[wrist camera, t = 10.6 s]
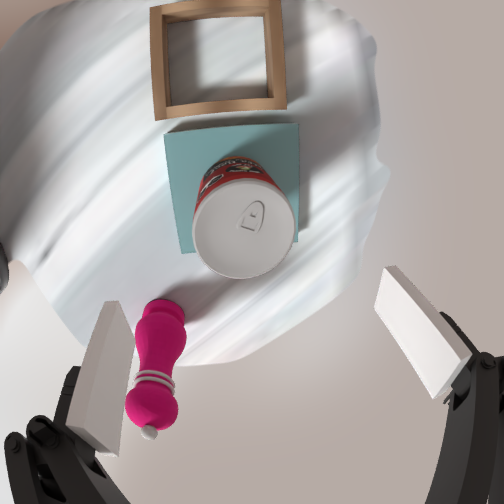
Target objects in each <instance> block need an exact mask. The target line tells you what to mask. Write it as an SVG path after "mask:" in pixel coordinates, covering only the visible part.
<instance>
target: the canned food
mask: <svg viewBox="0 0 504 504" xmlns="http://www.w3.org/2000/svg"><path fill="white" fill-rule="evenodd" d="M295 233H296V219H295V215H294V211H293V208H292V206H291V204H290V202H289V200H288V199H287V197H286V196H285V194H284V193H283V192H282V191H281V189H280V188H279V187H278V186H277V184H276V183H275V182H274V181H273V179H272V178H271V177H270V176H269V174H268V173H267V172H266V171H265V170H264V168H263V167H262V166H261V165H260V164H258V163H257V162H256V161H254V160H252V159H250V158H246V157H242V156H233V157H227V158H224V159H222V160H220V161H218V162H216V163H215V164H213V165H212V166H211V167H210V168H209V169H208V170H207V172H206V173H205V174H204V176H203V178H202V180H201V183H200V187H199V191H198V196H197V201H196V206H195V211H194V217H193V224H192V236H193V237H192V238H193V243H194V248H195V250H196V252H197V254H198V256H199V258H200V259H201V261H202V262H203V263H204V264H205V265H206V266H207V267H208V268H209V269H210V270H212V271H214V272H215V273H217V274H219V275H222V276H225V277H228V278H234V279H247V278H253V277H256V276H259V275H262V274H264V273H266V272H268V271H270V270H272V269H273V268H274V267H275V266H277V265H278V264H279V263H280V262H281V261H282V260H283V259H284V258H285V257H286V255H287V253H288V252H289V250H290V249H291V246H292V244H293V241H294V238H295Z"/></svg>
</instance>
